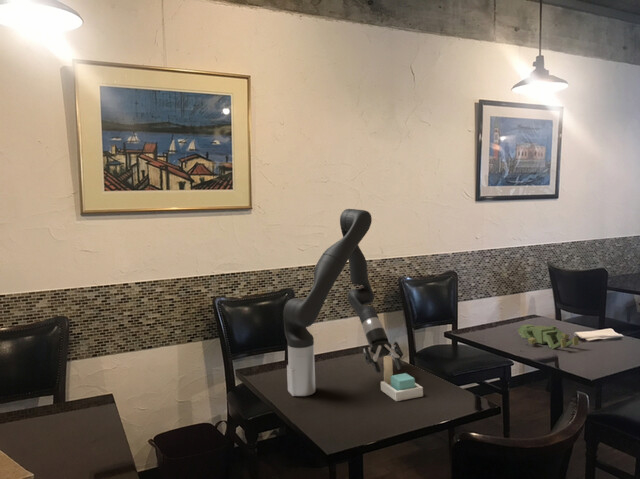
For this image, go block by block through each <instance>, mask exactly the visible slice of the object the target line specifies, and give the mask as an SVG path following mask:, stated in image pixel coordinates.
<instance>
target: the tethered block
mask: <svg viewBox="0 0 640 479" xmlns="http://www.w3.org/2000/svg"><path fill="white" fill-rule="evenodd" d="M382 358H383V381H384V382H386V383H387V384H388V385H390V386H391V387H393V388H394V389H396V390H397V391H399V390H404V389H409V388H415V383H416V379H415V377H413V376H411V374H410V375H409V374H408V373H407V372H404V373H399V374H394V373H393V371H394V370H393V359H392V356H384V357H382Z"/></svg>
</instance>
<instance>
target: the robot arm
mask: <svg viewBox="0 0 640 479" xmlns="http://www.w3.org/2000/svg"><path fill="white" fill-rule="evenodd" d="M372 221H373V220H372V215H371V213H370V211H367V210H364V209H356V208H345V209H344V210H343V211H342V212H341V214H340V217H339V226H340V230H341V234H342V237H341V238H340V239H339V240H338V241H337V242H335V243H334V244H332V245H330V246H329V247H328V248H326V250H325V251H324V252H323V253H322V255H321V256H320V258H319V259H318V261H317V263H316V264H315V267H314V274H313V285H312V288H311V289H310V292H309V293H308V295H307V296H306V297H305V299H300V298H297V297H296V298H294V297H293V298H290V299H288V301H286V303H285V305H284V308H283V327H284V335H285V338H286V340H287V359H288V360H287V361H288V364H286V377H287V378H286V379H287V391H288V393H289V394H290V395H291V396H292V397H307V396H310V395H313V394H314V393H315V392H316V373H315V372H316V371H315V368H316V366H315V342H314V336H313V334H311V332H310V331H309V330H308V329H307V328H308V327H310V326H313V324H314V323H315V322H316V320H317V318H318V316H319V314H320V313H321V310H322V308H323V306H324V304H325V301H326V299H327V297H328V295H329V293H330V291H331V290H332V288H333V286H334V285H335V283H336V281H337V279H338V277H339V276H340V275H341V273H342V271H343V270H344V268H345V266H346V264H347V262H348V264H349V265H348V266H349V277H350V278H349V279H350V282H351V284H353V285H355V286H362V287H359V288H355V289H351V290H349V291H348V293H347V296H346V297H347V301H348V304H349V305H350V307H351V308H352V310H354V312H355V313H356V315H357V316H358V319H359V320H360V323H361V325H362V330H363V333H364V336H365V338H366V341H367V344H368V346H364V348H363V349H362V352H363V355H364V356H363V357H364V359H365V362H366V364H367V365H369V364H371V365H372V367H373V369H374V372H375V373H376V374H380V373H381V372H382V370H381V367H380V365H379V362H378V361H377V360H378V359H379V358H383V357H384V356H392V360H394V363H395V366H396V369H397V370H398V371H401V369H402V368H403V364H402V361H401V359H402V357H403V356H404V353H403V351H402V348H401V347H400V345H399V343H398V341H394V343H391V342H389V338H388V336H387V333H386V330H385V328H384V326H383V324H382V323H383V322H382V321H381V320H380V318H379V316H378V313H377V310H376V308H375V307H374V306H370V305H371V304H372V303H373V302H374V300H375V294H374V291H373V289H372V286H371V283H370V279H369V275H368V274H369V271H368V263H367V259H366V257H365V255H364V253H363V252H362V250H361V248H360V246H359V244H360V243H361V241H362V240H363V239H364V237H365V236H366V234H367V233H368V232H369V230H370V228H371V225H372ZM370 353H372V354H373V357H371V354H370Z"/></svg>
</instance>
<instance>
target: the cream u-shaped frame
mask: <svg viewBox="0 0 640 479" xmlns="http://www.w3.org/2000/svg"><path fill="white" fill-rule="evenodd" d="M380 391H381V392H383V393H385V395H387V396H388V397H389V398H391V399H393V401H395V402H400V401H406V400H410V399H416V398H420V397H424V387H423V386H421V385H420V384H418V383H416V382H415V388H409V389H404V390H399V391H397V390H396V389H394V388H393V387H391V386H390V385H388V384H387V383H386V382H384V380H383V381H380Z"/></svg>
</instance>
